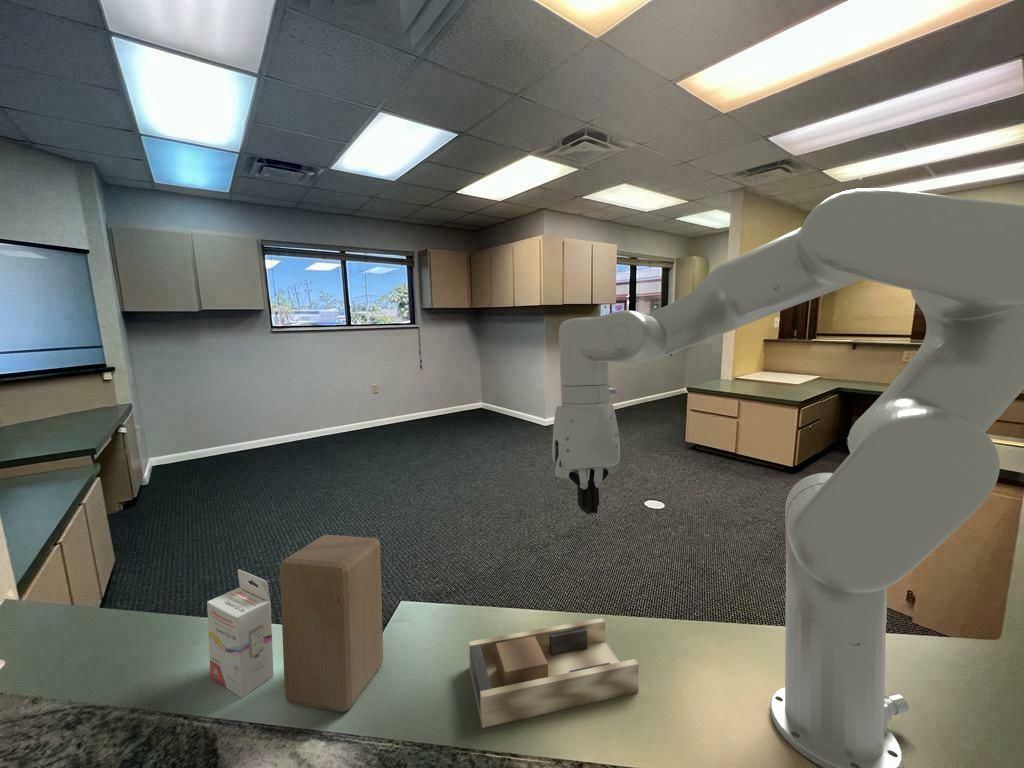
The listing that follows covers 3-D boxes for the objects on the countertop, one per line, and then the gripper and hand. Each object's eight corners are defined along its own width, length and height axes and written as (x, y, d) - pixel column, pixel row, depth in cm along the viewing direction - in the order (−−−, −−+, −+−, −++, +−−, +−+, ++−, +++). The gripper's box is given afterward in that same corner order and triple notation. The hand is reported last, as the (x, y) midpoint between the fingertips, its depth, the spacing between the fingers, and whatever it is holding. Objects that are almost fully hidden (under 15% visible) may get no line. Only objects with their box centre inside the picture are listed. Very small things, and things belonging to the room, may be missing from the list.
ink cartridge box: (207, 678, 61) (203, 581, 61) (242, 658, 66) (239, 567, 65) (240, 700, 57) (236, 595, 57) (275, 676, 62) (271, 579, 61)
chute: (602, 641, 68) (602, 617, 68) (638, 691, 57) (638, 663, 57) (469, 667, 63) (468, 641, 63) (482, 728, 52) (481, 697, 52)
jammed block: (535, 662, 63) (534, 636, 63) (548, 691, 57) (547, 663, 57) (496, 669, 61) (495, 643, 61) (505, 701, 55) (505, 672, 55)
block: (348, 717, 54) (343, 566, 53) (281, 705, 56) (276, 560, 55) (386, 663, 64) (382, 535, 63) (328, 655, 66) (324, 531, 65)
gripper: (615, 393, 71) (619, 499, 72) (532, 397, 68) (536, 509, 68) (639, 395, 64) (643, 513, 65) (548, 400, 60) (552, 525, 61)
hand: (588, 510), depth 66 cm, fingers closed
